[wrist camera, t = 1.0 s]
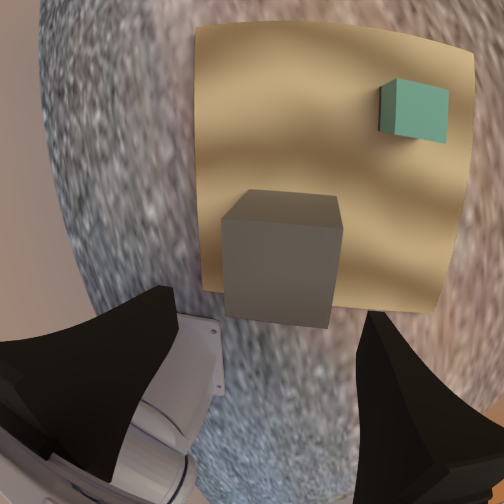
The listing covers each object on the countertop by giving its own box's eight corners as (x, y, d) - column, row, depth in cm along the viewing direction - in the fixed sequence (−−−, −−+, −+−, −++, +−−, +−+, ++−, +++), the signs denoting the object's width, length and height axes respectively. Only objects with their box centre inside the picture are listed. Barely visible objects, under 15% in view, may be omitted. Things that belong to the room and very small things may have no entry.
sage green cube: (419, 137, 14) (445, 144, 11) (377, 130, 15) (394, 134, 11) (421, 94, 13) (448, 89, 10) (379, 86, 14) (396, 78, 10)
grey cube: (327, 274, 19) (327, 328, 14) (248, 266, 20) (224, 316, 15) (336, 195, 17) (343, 229, 12) (249, 189, 18) (221, 218, 13)
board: (430, 307, 20) (433, 313, 19) (206, 284, 23) (202, 290, 22) (468, 55, 12) (473, 53, 11) (200, 30, 15) (195, 27, 14)
